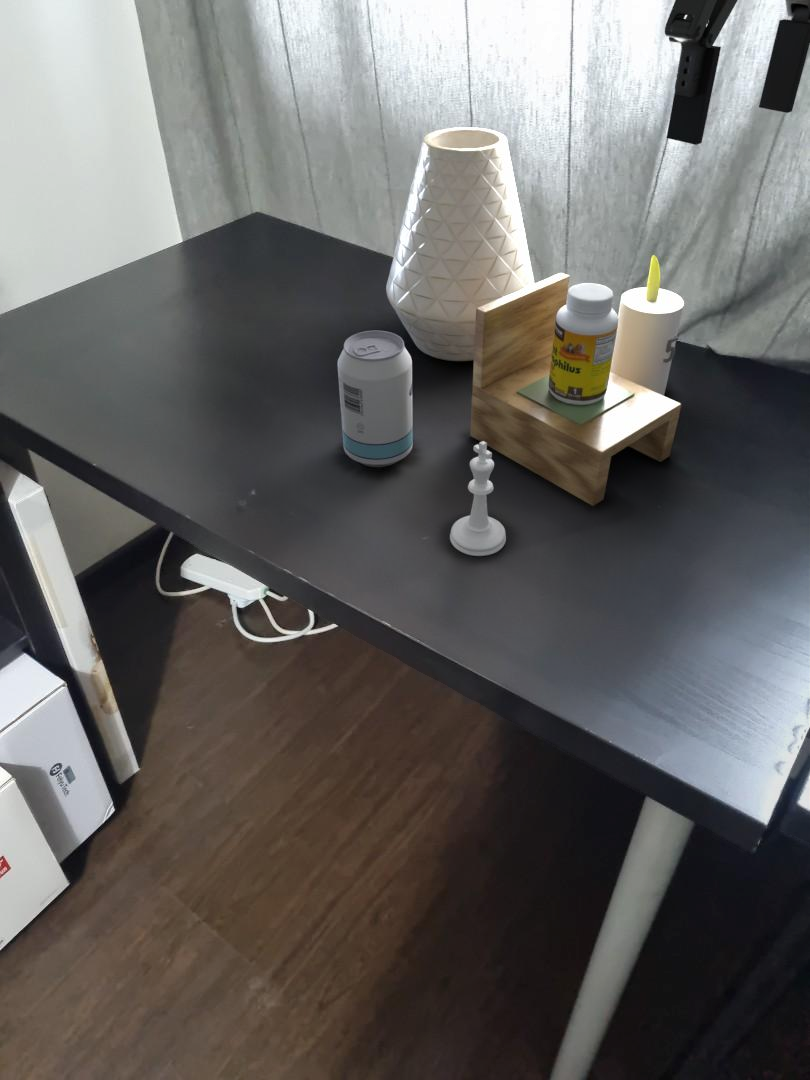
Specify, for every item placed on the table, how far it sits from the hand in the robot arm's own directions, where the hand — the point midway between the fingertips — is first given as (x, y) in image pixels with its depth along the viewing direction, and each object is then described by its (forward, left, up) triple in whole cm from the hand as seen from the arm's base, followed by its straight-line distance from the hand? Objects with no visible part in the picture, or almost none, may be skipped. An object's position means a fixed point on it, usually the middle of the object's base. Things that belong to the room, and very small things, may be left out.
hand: (731, 124), depth 68 cm
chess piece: (0, +28, -29) cm, 40 cm away
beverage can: (+16, +26, -29) cm, 42 cm away
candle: (+6, -3, -29) cm, 30 cm away
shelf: (+4, +11, -29) cm, 31 cm away
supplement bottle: (+4, +11, -23) cm, 26 cm away
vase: (+28, +3, -29) cm, 40 cm away
